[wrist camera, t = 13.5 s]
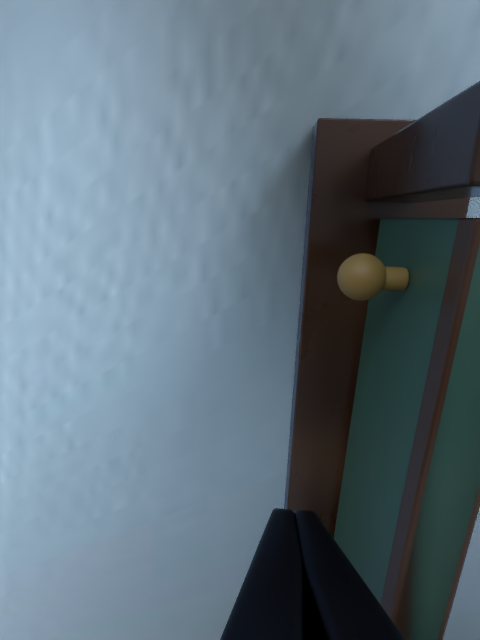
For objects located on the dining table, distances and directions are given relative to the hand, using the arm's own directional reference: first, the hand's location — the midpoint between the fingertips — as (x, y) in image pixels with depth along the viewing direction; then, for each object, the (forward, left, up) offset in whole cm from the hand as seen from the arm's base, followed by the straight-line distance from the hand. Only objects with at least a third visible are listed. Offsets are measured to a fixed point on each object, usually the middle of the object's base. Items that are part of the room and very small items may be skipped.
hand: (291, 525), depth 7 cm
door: (-1, -3, -6) cm, 7 cm away
